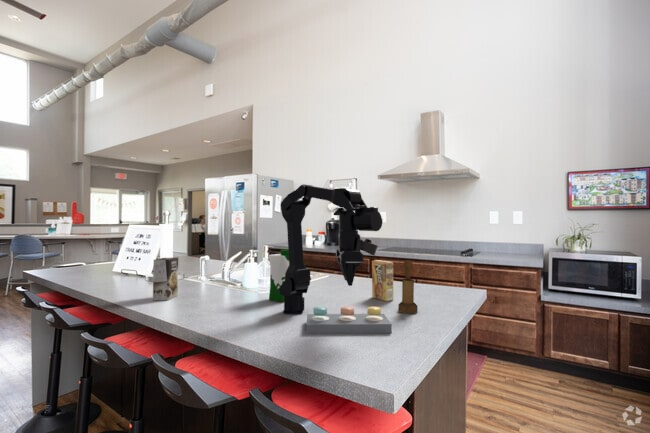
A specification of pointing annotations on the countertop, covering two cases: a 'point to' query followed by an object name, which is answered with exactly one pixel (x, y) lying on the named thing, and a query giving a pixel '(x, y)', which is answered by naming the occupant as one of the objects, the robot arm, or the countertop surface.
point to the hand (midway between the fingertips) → (348, 282)
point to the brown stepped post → (407, 292)
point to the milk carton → (278, 274)
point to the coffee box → (165, 278)
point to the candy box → (382, 280)
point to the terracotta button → (347, 311)
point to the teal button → (320, 311)
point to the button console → (348, 323)
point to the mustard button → (374, 311)
